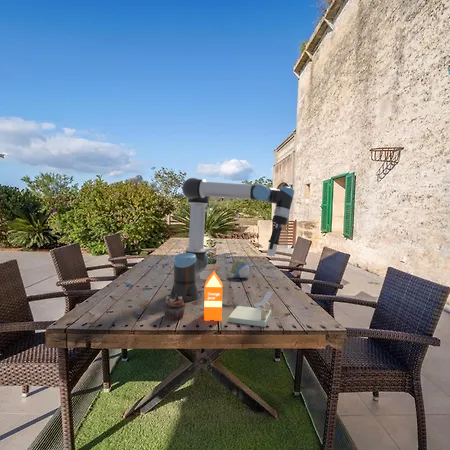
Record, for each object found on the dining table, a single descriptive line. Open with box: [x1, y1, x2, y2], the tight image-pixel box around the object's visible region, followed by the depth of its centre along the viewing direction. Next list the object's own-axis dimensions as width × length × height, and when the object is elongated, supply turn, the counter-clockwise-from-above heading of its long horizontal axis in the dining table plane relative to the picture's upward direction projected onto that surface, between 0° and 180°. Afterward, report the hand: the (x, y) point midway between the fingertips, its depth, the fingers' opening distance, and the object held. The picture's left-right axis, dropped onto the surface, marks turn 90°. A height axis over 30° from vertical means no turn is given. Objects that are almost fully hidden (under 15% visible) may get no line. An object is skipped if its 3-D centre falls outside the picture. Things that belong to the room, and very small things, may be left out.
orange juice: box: [203, 270, 224, 322], centre depth 130 cm, size 8×9×20 cm
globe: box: [229, 259, 251, 279], centre depth 210 cm, size 13×15×14 cm
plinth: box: [227, 301, 272, 328], centre depth 130 cm, size 16×16×6 cm
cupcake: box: [162, 294, 186, 321], centre depth 129 cm, size 10×10×10 cm
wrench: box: [253, 290, 274, 309], centre depth 158 cm, size 8×32×1 cm, turn 163°
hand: (270, 255), depth 152 cm, fingers open, 13 cm apart
